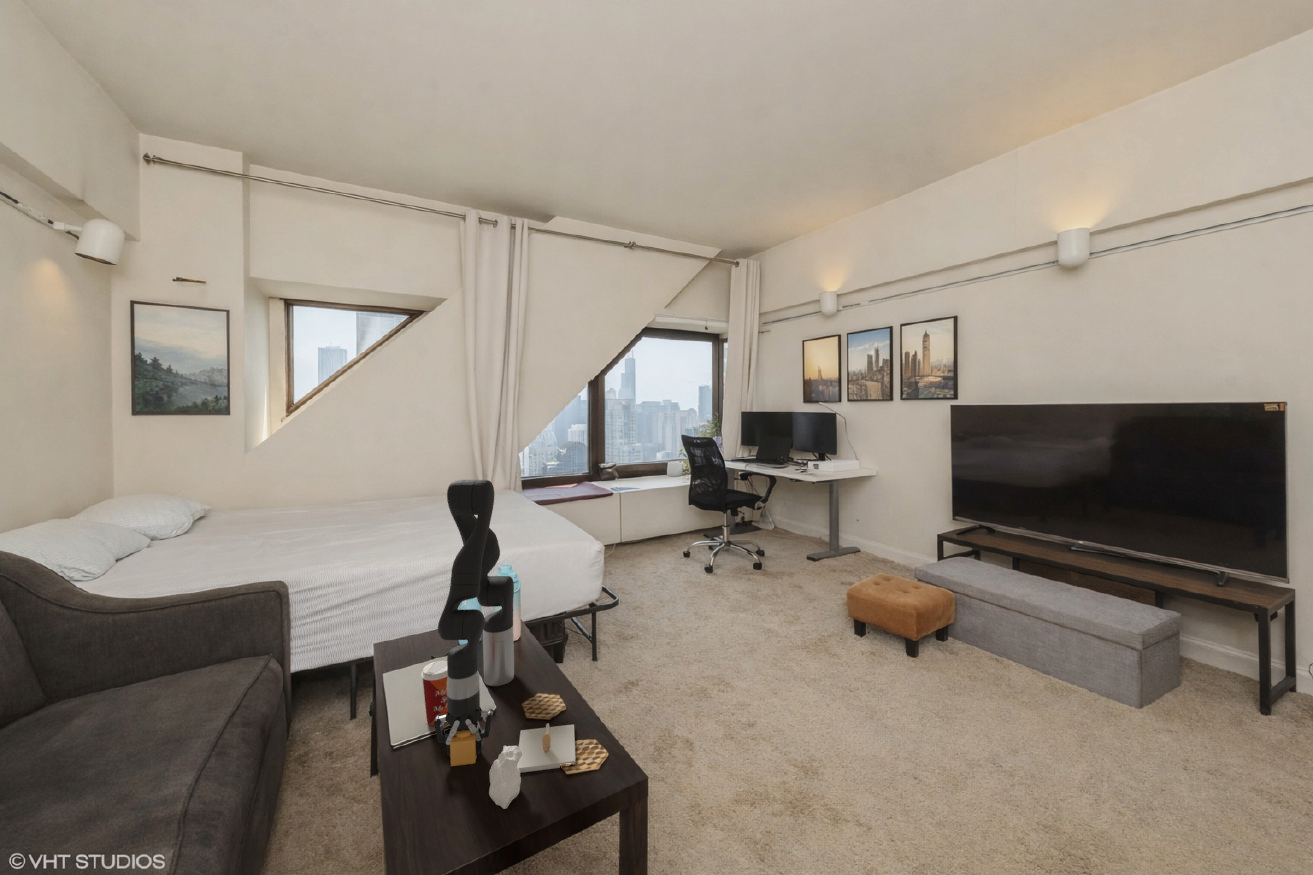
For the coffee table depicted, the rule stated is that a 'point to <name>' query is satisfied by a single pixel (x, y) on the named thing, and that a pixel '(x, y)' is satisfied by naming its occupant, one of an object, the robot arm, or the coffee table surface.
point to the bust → (505, 776)
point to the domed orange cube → (463, 748)
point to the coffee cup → (435, 689)
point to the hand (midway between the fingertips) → (464, 753)
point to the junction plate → (554, 752)
